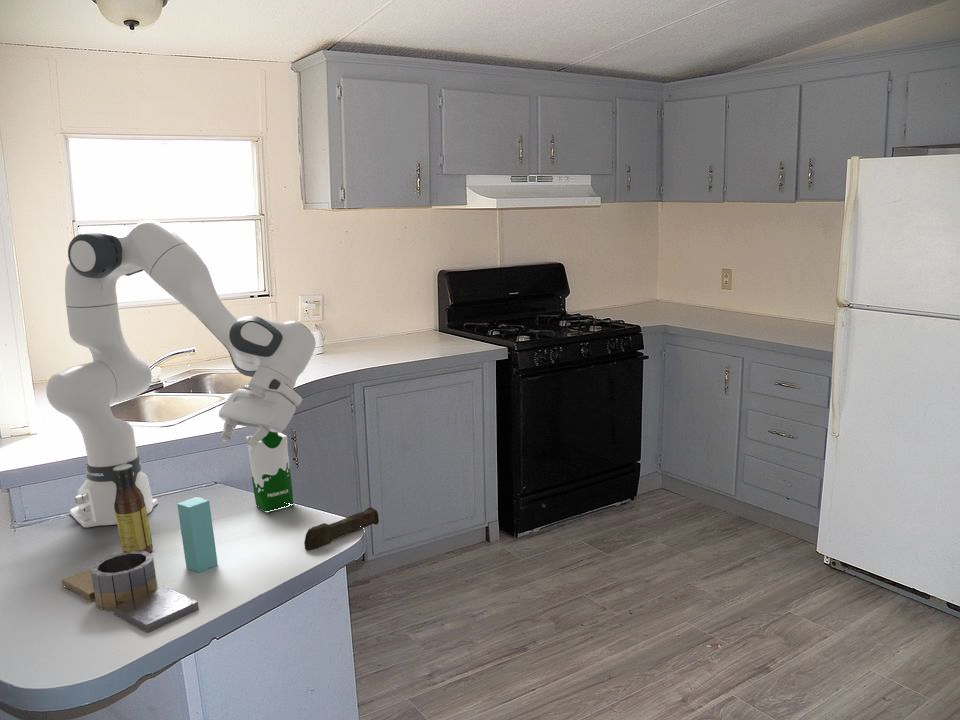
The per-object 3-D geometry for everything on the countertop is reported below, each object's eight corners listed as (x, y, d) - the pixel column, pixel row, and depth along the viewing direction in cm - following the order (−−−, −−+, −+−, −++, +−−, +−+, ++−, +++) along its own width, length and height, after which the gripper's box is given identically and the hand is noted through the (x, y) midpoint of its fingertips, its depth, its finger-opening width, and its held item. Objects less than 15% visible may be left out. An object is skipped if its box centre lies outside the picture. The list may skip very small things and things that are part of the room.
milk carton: (264, 515, 195) (254, 435, 191) (251, 506, 202) (241, 428, 198) (298, 506, 200) (289, 427, 196) (284, 497, 207) (275, 421, 203)
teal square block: (186, 567, 168) (177, 503, 165) (205, 559, 171) (197, 496, 169) (198, 572, 165) (189, 507, 162) (217, 564, 168) (209, 500, 166)
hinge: (60, 586, 163) (54, 554, 161) (113, 566, 171) (108, 535, 170) (145, 633, 141) (139, 596, 140) (200, 608, 149) (195, 572, 148)
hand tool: (369, 521, 187) (367, 502, 186) (380, 525, 184) (378, 505, 183) (298, 549, 174) (296, 529, 173) (309, 553, 171) (306, 533, 170)
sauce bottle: (141, 545, 182) (128, 460, 178) (159, 549, 178) (146, 463, 175) (115, 556, 176) (101, 469, 172) (133, 561, 173) (120, 472, 169)
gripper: (232, 377, 183) (199, 429, 177) (288, 384, 170) (254, 441, 164) (251, 392, 187) (219, 444, 181) (307, 400, 174) (275, 457, 168)
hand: (236, 443), depth 173 cm, fingers open, 8 cm apart
